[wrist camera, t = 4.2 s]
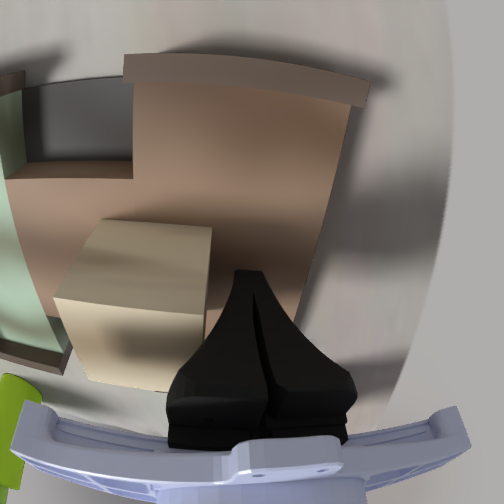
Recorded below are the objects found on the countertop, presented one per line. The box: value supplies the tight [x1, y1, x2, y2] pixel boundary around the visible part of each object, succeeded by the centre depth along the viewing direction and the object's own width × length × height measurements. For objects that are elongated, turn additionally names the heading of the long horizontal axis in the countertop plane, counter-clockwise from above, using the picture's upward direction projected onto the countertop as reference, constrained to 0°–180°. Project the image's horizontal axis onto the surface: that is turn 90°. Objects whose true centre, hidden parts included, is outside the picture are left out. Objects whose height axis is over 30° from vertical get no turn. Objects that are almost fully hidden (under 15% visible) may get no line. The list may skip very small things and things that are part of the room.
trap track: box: [0, 53, 370, 393], centre depth 14 cm, size 19×23×4 cm
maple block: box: [53, 219, 212, 392], centre depth 12 cm, size 5×5×5 cm
